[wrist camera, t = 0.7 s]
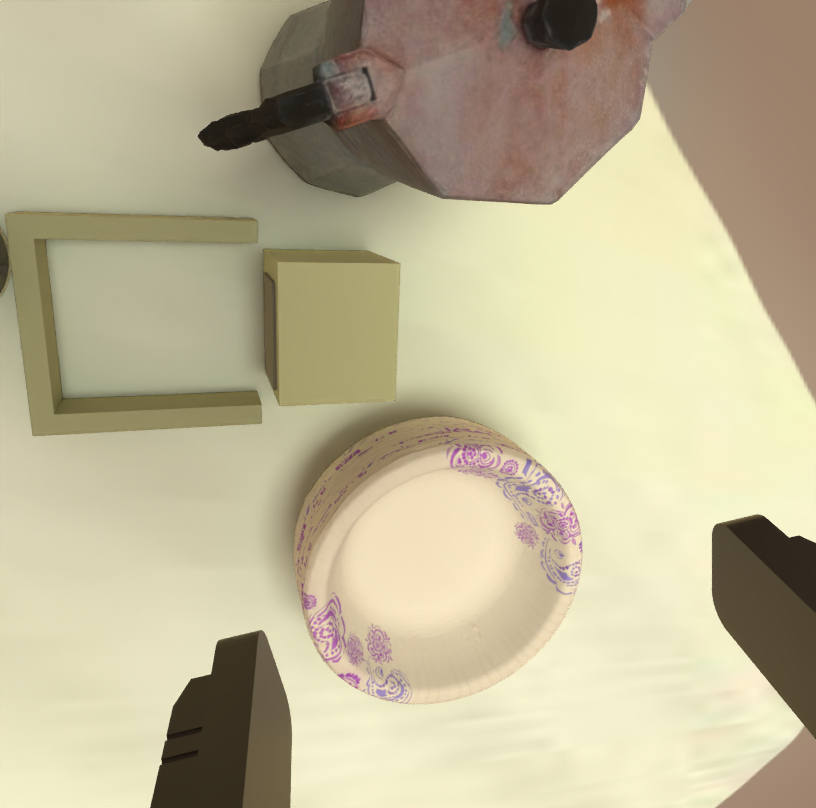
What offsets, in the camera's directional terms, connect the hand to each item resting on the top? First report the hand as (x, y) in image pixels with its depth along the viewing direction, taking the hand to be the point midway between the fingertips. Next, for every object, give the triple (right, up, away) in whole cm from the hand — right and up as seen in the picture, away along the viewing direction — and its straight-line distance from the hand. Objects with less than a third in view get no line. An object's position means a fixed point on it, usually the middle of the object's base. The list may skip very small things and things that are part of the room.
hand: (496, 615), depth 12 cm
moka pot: (-5, +18, +22) cm, 29 cm away
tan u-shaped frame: (-11, +8, +23) cm, 27 cm away
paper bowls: (-2, -3, +31) cm, 31 cm away
